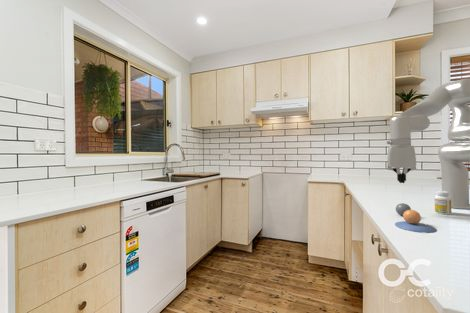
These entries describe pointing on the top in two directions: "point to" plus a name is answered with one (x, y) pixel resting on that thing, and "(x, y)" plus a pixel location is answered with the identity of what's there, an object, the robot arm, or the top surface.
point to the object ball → (412, 216)
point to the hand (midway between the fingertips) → (401, 182)
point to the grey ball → (402, 208)
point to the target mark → (415, 227)
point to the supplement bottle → (443, 203)
